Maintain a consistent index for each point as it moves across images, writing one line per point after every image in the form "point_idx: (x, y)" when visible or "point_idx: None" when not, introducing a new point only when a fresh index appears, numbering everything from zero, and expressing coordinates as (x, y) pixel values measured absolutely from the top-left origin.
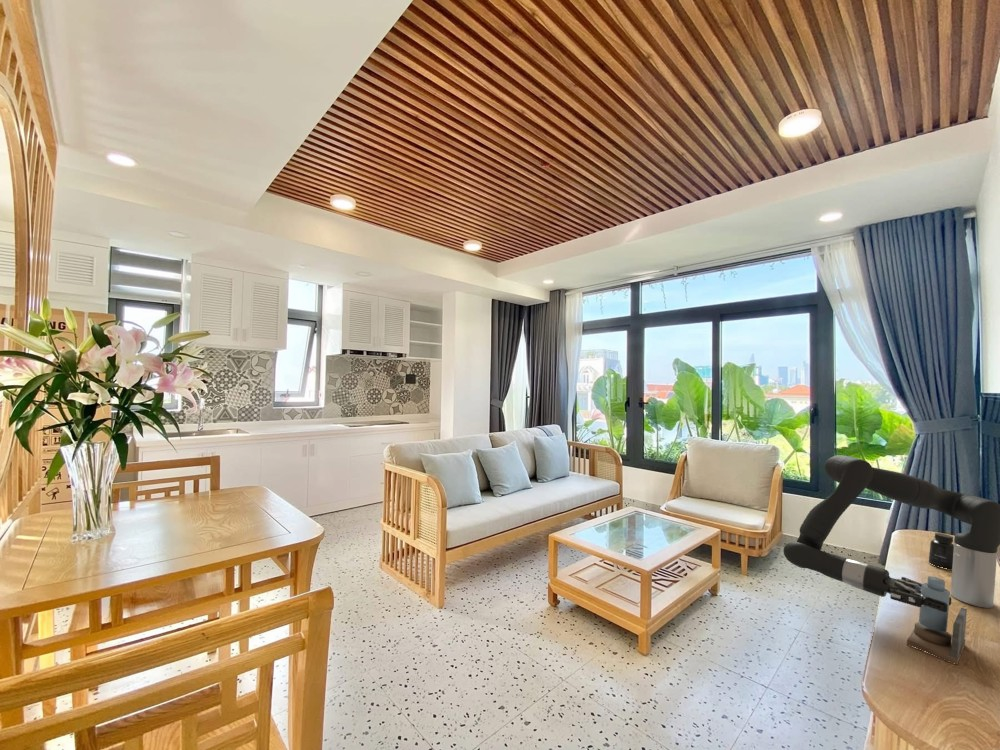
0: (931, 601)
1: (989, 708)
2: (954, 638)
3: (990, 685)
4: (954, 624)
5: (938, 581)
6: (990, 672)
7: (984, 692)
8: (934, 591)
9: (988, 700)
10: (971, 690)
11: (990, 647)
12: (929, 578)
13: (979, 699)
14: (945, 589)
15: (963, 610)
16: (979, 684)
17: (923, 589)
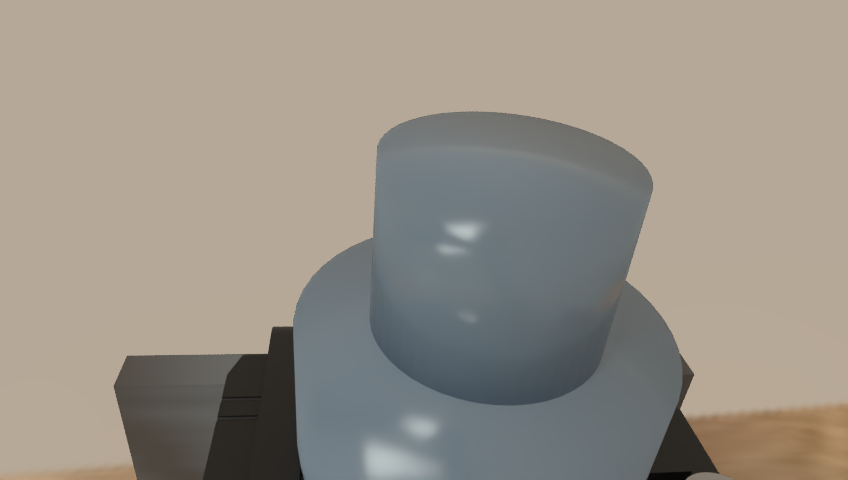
0: (697, 439)
1: (840, 409)
2: None
3: None
4: None
5: (598, 142)
6: None
7: (729, 432)
8: (657, 315)
9: (779, 417)
10: (789, 466)
11: (72, 473)
12: (632, 206)
13: (822, 437)
14: (368, 254)
15: (198, 367)
16: None
17: (644, 475)
